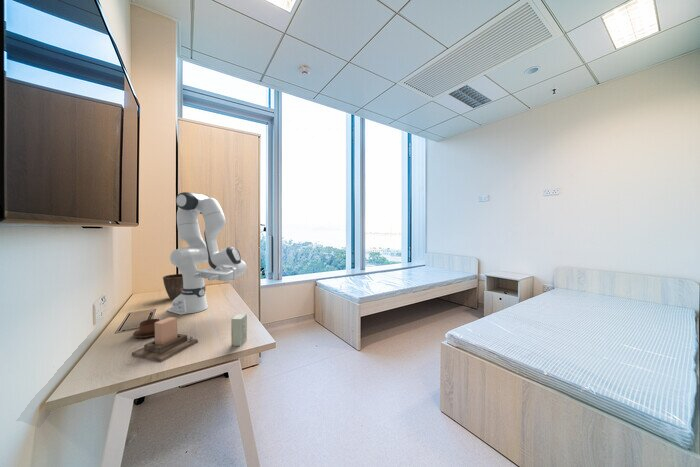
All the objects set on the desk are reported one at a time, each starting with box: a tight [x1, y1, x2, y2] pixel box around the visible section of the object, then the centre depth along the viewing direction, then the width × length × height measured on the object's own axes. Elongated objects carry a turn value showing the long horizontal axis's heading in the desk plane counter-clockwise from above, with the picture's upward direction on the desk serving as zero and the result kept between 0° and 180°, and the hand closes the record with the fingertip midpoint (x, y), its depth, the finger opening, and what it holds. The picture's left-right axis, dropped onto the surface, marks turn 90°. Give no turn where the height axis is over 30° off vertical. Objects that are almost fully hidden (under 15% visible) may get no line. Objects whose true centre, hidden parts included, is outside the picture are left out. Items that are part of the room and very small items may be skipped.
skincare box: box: [230, 313, 248, 347], centre depth 108 cm, size 6×4×12 cm
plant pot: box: [162, 273, 183, 301], centre depth 171 cm, size 15×15×16 cm
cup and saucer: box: [132, 318, 160, 339], centre depth 116 cm, size 12×12×6 cm
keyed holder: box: [131, 333, 199, 363], centre depth 103 cm, size 16×16×4 cm
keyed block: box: [154, 316, 178, 346], centre depth 103 cm, size 4×6×11 cm, turn 164°
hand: (201, 277), depth 122 cm, fingers open, 8 cm apart
